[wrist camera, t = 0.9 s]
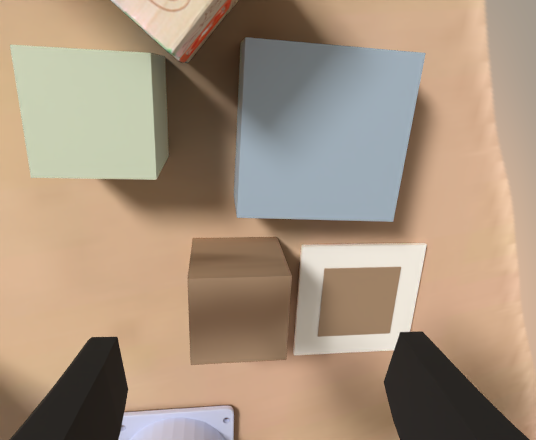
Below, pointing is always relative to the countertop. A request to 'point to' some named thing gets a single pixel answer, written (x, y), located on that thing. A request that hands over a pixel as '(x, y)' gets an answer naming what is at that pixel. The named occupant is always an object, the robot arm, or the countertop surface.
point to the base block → (322, 129)
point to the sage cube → (92, 112)
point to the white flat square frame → (355, 296)
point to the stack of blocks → (177, 22)
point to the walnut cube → (238, 300)
